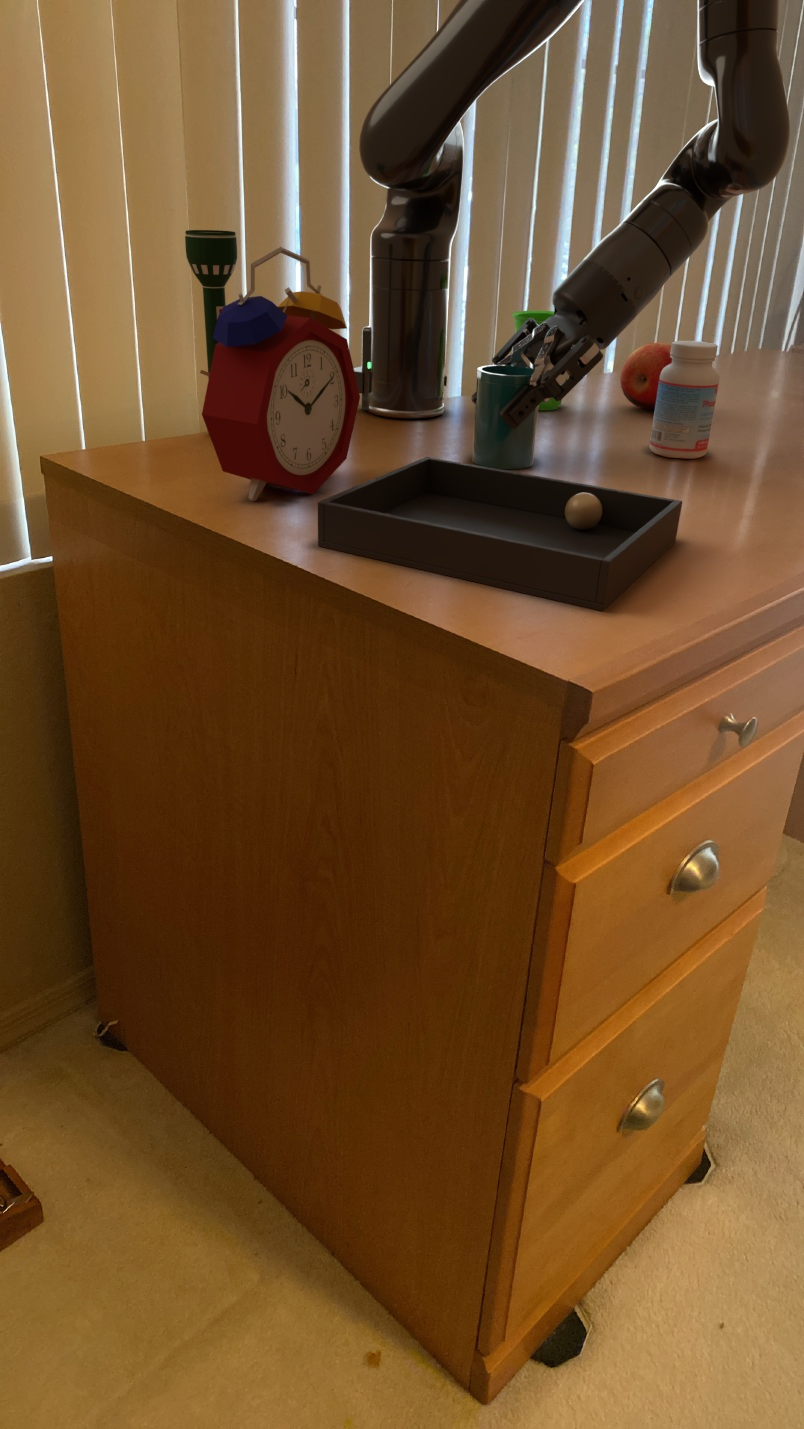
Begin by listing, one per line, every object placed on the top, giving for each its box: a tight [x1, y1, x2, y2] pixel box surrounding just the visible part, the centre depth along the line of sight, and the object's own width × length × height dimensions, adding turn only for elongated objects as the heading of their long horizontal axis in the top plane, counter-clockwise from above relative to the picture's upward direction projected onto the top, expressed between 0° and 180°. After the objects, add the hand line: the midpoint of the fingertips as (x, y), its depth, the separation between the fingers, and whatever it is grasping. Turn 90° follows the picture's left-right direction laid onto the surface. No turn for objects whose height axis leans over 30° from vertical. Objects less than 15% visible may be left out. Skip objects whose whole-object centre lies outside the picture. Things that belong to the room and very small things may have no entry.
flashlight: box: [184, 229, 238, 380], centre depth 102 cm, size 5×5×20 cm
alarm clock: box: [199, 246, 361, 502], centre depth 85 cm, size 15×9×20 cm, turn 148°
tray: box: [317, 456, 683, 612], centre depth 77 cm, size 23×17×4 cm
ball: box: [565, 492, 602, 530], centre depth 79 cm, size 3×3×3 cm
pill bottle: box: [648, 340, 720, 460], centre depth 103 cm, size 6×6×11 cm
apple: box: [619, 342, 672, 410], centre depth 125 cm, size 8×8×8 cm
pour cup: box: [471, 364, 539, 471], centre depth 98 cm, size 6×6×9 cm
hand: (491, 413), depth 98 cm, fingers open, 7 cm apart
